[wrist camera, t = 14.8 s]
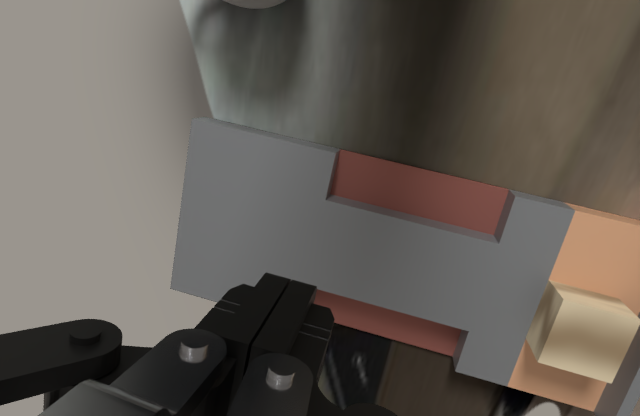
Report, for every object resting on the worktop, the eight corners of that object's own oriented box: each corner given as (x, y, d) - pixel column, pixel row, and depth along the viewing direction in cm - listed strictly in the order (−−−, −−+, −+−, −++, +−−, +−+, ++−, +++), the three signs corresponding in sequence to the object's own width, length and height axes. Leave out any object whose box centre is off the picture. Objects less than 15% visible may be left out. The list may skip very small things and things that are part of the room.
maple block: (548, 279, 40) (563, 299, 36) (618, 298, 39) (641, 320, 36) (525, 337, 42) (537, 362, 38) (592, 356, 41) (611, 383, 37)
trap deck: (205, 116, 45) (176, 120, 40) (667, 227, 40) (711, 249, 34) (183, 277, 50) (155, 301, 45) (592, 394, 45) (619, 438, 39)
